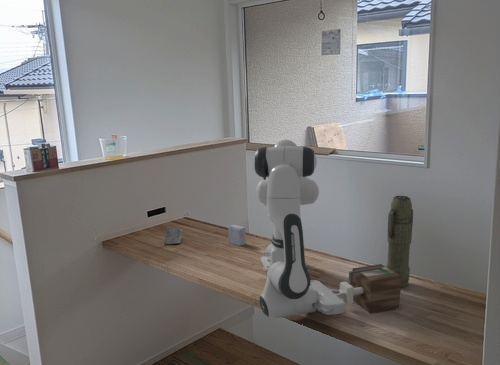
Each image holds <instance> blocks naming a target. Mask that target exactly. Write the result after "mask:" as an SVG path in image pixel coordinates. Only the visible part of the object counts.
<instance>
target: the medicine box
mask: <svg viewBox="0 0 500 365" xmlns="http://www.w3.org/2000/svg"><path fill="white" fill-rule="evenodd" d="M227 235H228V236H227V239H228V244H231V245H234V246H237V247H241V246H244V245H246V244H247V242H246V241H247V240H246V227H244V226H240V225H236V224H231V225H228V227H227Z"/></svg>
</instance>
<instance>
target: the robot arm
mask: <svg viewBox="0 0 500 365" xmlns="http://www.w3.org/2000/svg"><path fill="white" fill-rule="evenodd" d="M317 164H318V163H317V156H316V154H315V151H314V150H313V148H311V147H308V146H297V144H296V143H295V142H294V141H292V140H291V139H290V140H289V139H282V140H279V141H278V142H276V143H275V144H274V146H271V147H267V146H264V147H259V148H257V149H256V151H255V153H254V155H253V158H252V166H253V170H254V171H255V174H257V176H259V177H261V178H262V179H261V180H260V181H259V182H258V183H257V185H256V188H255V194H256V197H257V199H258V200H259V202H261V203H262V204H263V205H264V206H265V207H266V210H267V215H268V218H269V221H271V222H272V225H273V234H272V238H271V243H270V244H269V245H268V246H266V248H265V251H264V252H263V256H260V261H261V264H262V266H263V268H264V270H265V272H266V281H265V285H264V288H263V290H262V293H261V294H260V296H259V305H260V306H259V307H260V309H261V311H262V313H263V314H264V315H265V316H266V317H268V318H269V319H281V318H286V317H287V318H288V317H291V316H293V315H303V314H309V313H310V314H311V313H315V312H316V311H318V312H319V313H322V314H323V315H329V316H330V315H341V314H343V313H345V312H346V303H345V302H344V301H342V300H341V298H345V293H344V292H343V291H342V290H340V289H333V288H332V289H331V288H330V289H329V288H328V287H327V286H325V284H323V283H322V282H321V281H319V280H315V279H311V277H310V274H309V273H310V272H309V271H308V268H307V266H308V264H307V262H306V259H305V258H306V256H305V245H304V244H305V243H304V232H303V231H304V230H303V226H302V225H303V223H302V218H301V206H304V205H305V206H306V205H307V206H308V205H312V204H314V203H315V202H316V201H317V199H318V198H319V196H320V195H319V194H320V190H319V188H320V187H319V186H318V184H317V182H316V181H315V180H313V179H310V178H309V177H311V176H312V175H313V174H314V173H315V170H316V168H317Z"/></svg>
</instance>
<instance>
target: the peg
mask: <svg viewBox="0 0 500 365" xmlns="http://www.w3.org/2000/svg"><path fill="white" fill-rule="evenodd" d="M378 269H382V267H377V268H370V269H364V270H357V271H351V270H350V271H348V282H347V281H342V282H339V290H342V291H343V292H344V293H345V298H341V300H342V301H344V302H345V305H351V304H354V301H353V295H359V294H363V291H364V288H363V287H358V288H354V287H353V286H352V285H353V273H359V272H365V271H372V270H378Z"/></svg>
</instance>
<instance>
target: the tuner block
mask: <svg viewBox="0 0 500 365" xmlns="http://www.w3.org/2000/svg"><path fill="white" fill-rule="evenodd" d="M377 267H382V269H378V270H372V271H365V272H359V273H353V285H351V286H353V287H354V288H358V287H363V288H364V291H363V294H359V295H353V303H355V304H356V305H357V306H359V307H361V309H363V310H364V311H365V312H367V313H368V314H370V315H372V314H377V313H382V312H386V311H387V312H388V311H393V310H398V309H399V310H400V305H401V304H400V303H401V290H402V289H401V276H400V275H399V274H397V273H395V272H394V271H392V270H390V269H389V268H387V267H386V266H385V265H383V264H381V263H380V264H373V265H367V266H358V267H353V268H352V271H357V270H364V269H370V268H377Z"/></svg>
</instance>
